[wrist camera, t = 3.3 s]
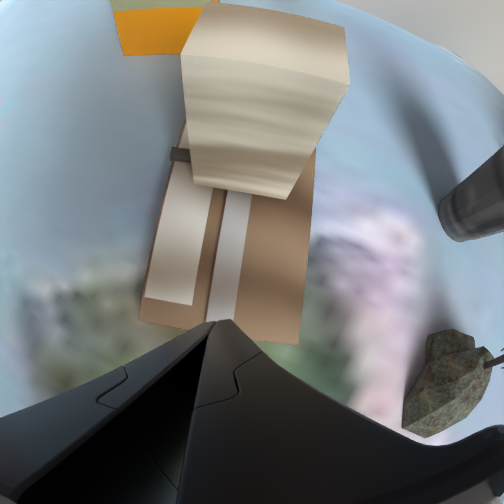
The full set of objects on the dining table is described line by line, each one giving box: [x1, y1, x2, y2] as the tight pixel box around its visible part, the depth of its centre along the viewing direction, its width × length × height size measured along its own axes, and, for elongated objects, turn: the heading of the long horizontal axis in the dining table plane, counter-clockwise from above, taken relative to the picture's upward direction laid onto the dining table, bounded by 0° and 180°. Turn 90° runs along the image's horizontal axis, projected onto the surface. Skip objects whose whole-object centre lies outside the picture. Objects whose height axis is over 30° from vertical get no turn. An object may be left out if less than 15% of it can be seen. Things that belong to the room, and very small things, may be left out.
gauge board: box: [138, 119, 316, 345], centre depth 21 cm, size 19×10×2 cm, turn 172°
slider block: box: [170, 2, 350, 200], centre depth 15 cm, size 4×8×11 cm, turn 82°
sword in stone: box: [402, 329, 504, 438], centre depth 15 cm, size 10×8×12 cm
